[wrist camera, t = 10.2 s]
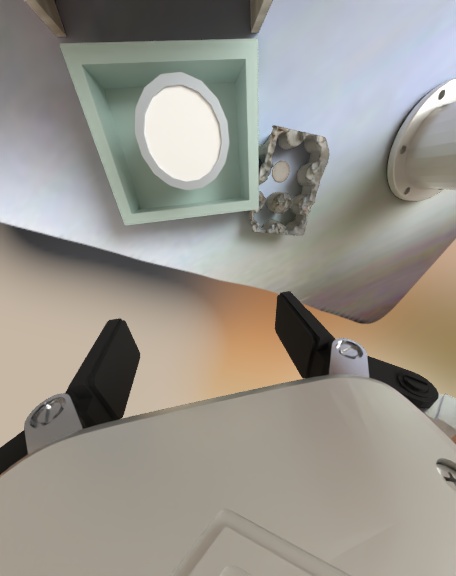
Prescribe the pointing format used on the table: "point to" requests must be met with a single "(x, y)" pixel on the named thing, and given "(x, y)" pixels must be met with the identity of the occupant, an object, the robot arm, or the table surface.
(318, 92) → the table surface
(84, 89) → the tray
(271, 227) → the egg carton
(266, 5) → the beige wooden block
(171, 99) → the shot glass
